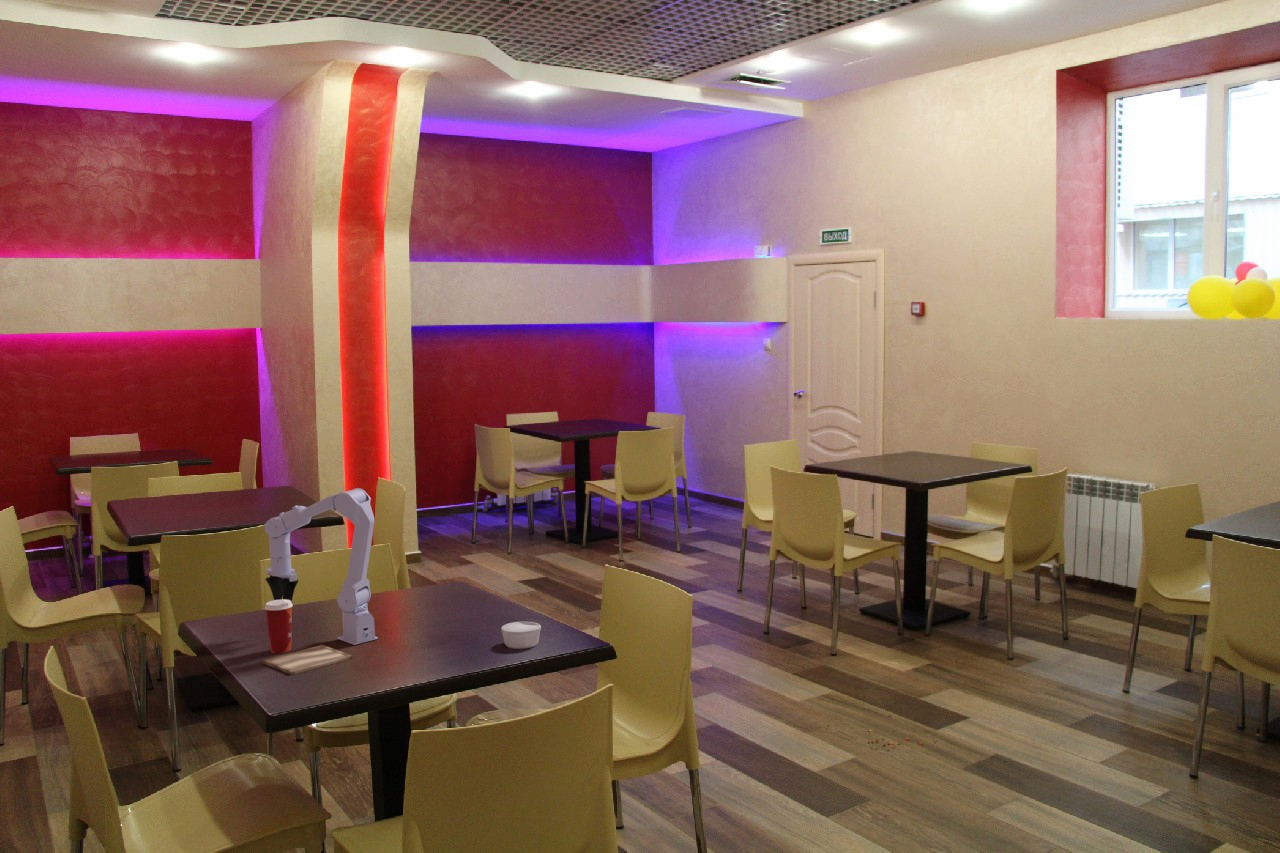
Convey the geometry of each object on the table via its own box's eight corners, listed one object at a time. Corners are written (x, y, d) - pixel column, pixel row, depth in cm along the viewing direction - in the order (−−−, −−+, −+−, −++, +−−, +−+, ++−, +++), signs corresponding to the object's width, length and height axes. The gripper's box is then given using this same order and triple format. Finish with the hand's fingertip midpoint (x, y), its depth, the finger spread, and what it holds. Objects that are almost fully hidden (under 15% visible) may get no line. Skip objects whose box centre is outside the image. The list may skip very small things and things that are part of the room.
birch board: (352, 658, 289) (351, 655, 289) (291, 675, 276) (291, 671, 276) (322, 647, 300) (322, 644, 300) (262, 662, 287) (262, 659, 287)
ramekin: (547, 640, 303) (546, 622, 303) (533, 651, 292) (532, 633, 292) (511, 637, 306) (510, 620, 306) (495, 649, 295) (495, 630, 295)
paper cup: (300, 649, 299) (297, 601, 297) (275, 656, 293) (272, 607, 292) (286, 644, 304) (283, 597, 303) (261, 650, 298) (258, 602, 297)
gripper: (305, 557, 309) (307, 602, 310) (280, 551, 319) (283, 595, 320) (283, 561, 304) (285, 607, 305) (258, 555, 314) (261, 599, 315)
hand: (283, 601), depth 312 cm, fingers open, 5 cm apart
